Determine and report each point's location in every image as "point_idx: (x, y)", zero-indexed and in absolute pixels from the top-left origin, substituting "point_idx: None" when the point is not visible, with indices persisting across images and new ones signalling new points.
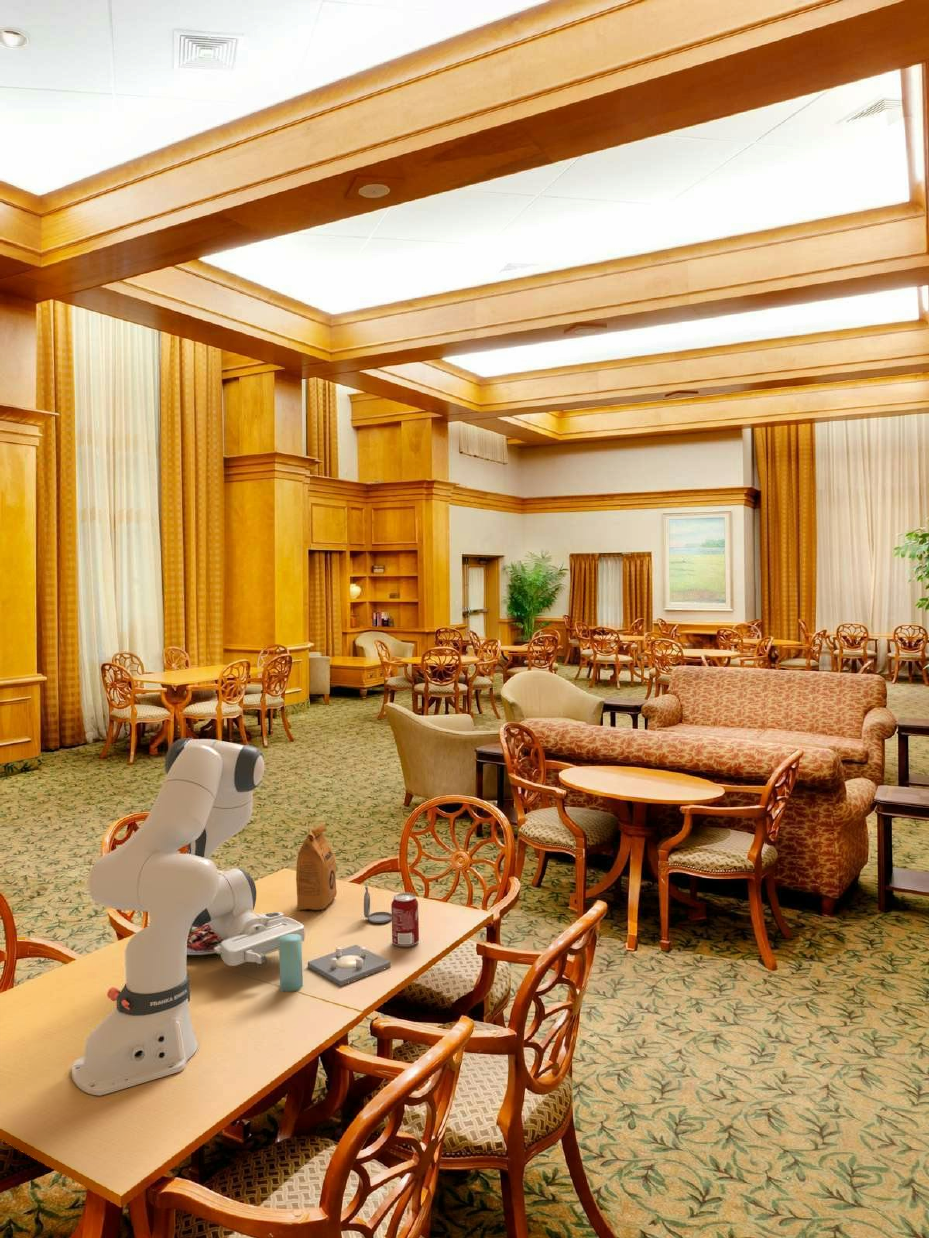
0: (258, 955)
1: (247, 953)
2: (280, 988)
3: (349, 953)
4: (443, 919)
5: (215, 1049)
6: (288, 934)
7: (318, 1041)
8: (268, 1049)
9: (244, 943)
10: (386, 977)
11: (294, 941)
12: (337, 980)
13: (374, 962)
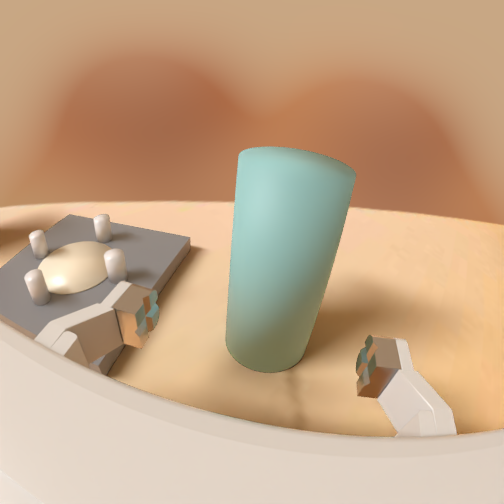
0: (403, 349)
1: (447, 413)
2: (303, 354)
3: (23, 285)
4: None
5: (492, 283)
6: (268, 173)
7: (360, 210)
8: (427, 239)
9: (453, 498)
10: (119, 214)
11: (304, 152)
12: (183, 249)
13: (74, 229)
